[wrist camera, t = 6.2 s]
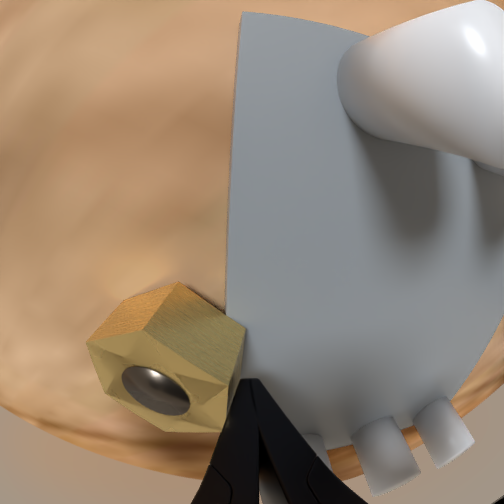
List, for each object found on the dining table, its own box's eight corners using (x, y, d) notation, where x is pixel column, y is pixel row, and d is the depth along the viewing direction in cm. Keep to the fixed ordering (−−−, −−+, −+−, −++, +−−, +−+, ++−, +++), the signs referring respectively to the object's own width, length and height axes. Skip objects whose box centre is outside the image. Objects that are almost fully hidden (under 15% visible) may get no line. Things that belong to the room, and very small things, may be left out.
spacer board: (537, 139, 8) (609, 166, 3) (434, 405, 16) (462, 454, 12) (239, 23, 6) (277, -98, 1) (224, 448, 14) (232, 525, 9)
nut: (249, 295, 8) (230, 353, 6) (237, 398, 10) (223, 448, 8) (119, 268, 9) (74, 308, 6) (138, 371, 11) (112, 412, 9)
